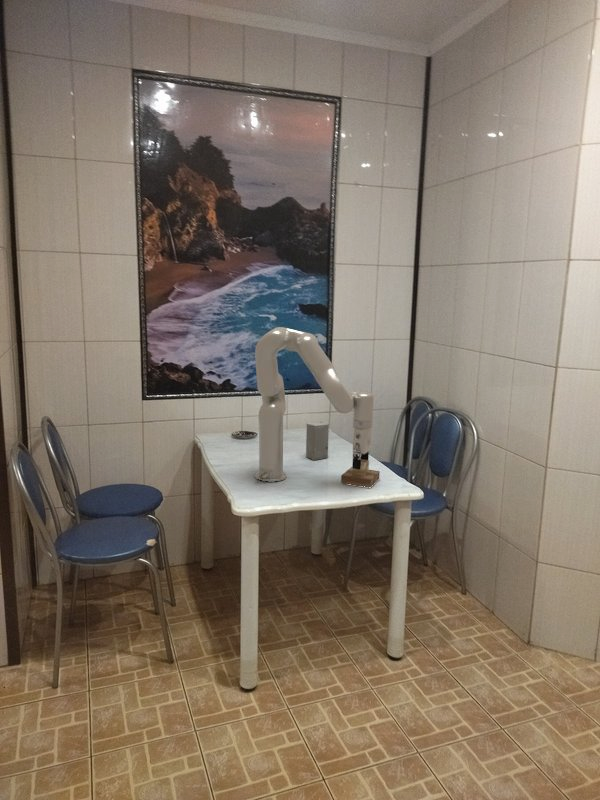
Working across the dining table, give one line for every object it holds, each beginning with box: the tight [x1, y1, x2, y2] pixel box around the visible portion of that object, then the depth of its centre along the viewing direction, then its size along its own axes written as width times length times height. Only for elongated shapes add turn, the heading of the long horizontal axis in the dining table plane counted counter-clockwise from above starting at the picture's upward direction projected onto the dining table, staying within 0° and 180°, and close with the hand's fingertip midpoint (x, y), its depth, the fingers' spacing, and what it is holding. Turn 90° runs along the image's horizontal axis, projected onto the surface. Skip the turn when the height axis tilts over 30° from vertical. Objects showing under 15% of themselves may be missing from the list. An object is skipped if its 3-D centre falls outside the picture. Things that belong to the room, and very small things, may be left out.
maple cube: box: [352, 459, 370, 476], centre depth 235 cm, size 5×5×5 cm
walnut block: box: [340, 466, 381, 488], centre depth 236 cm, size 12×12×4 cm
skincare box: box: [305, 421, 330, 461], centre depth 265 cm, size 8×7×16 cm
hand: (360, 465), depth 235 cm, fingers open, 9 cm apart
